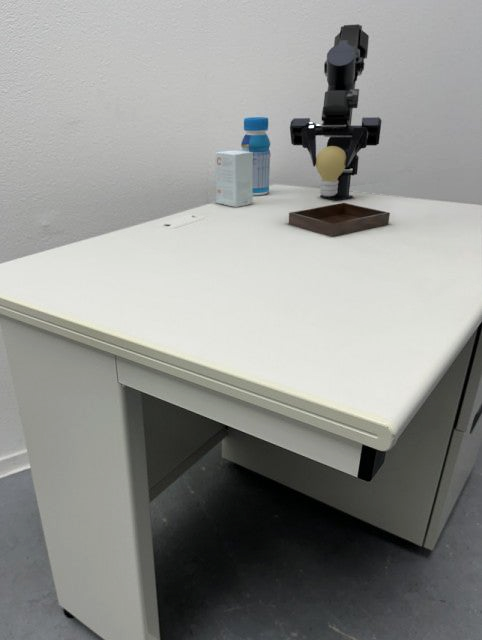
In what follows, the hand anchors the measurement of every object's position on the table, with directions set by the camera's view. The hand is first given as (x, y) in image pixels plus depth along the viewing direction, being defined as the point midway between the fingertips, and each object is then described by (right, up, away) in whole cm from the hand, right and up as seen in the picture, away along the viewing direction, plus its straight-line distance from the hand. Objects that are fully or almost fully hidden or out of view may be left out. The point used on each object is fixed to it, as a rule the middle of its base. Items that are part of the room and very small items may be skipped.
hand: (330, 165), depth 115 cm
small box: (-18, +2, +33) cm, 37 cm away
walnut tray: (+4, -10, +9) cm, 14 cm away
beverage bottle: (-11, +9, +45) cm, 47 cm away
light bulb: (+1, -5, +4) cm, 7 cm away
